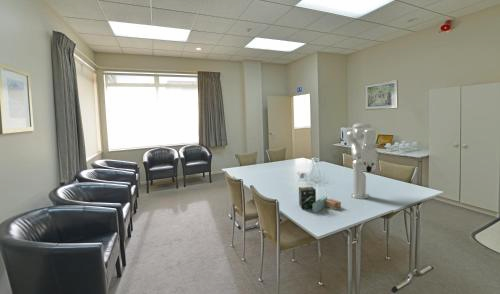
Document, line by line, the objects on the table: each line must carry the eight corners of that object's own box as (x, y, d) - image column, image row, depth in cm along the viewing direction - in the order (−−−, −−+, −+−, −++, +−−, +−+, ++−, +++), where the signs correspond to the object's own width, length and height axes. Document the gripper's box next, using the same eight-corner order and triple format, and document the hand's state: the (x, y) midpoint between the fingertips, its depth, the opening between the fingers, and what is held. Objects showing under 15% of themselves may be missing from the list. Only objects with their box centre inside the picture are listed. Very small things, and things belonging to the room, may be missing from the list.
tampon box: (312, 204, 189) (312, 186, 188) (316, 208, 180) (316, 189, 178) (298, 204, 189) (298, 186, 187) (301, 209, 180) (301, 190, 178)
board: (323, 203, 190) (323, 196, 189) (327, 204, 188) (327, 196, 187) (312, 211, 175) (312, 203, 174) (316, 212, 173) (316, 204, 172)
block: (332, 204, 187) (332, 198, 187) (340, 208, 179) (340, 201, 179) (324, 206, 185) (324, 200, 184) (333, 210, 176) (333, 203, 176)
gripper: (382, 146, 170) (381, 171, 172) (359, 145, 180) (359, 169, 182) (379, 147, 164) (379, 174, 167) (356, 146, 174) (356, 171, 176)
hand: (368, 171), depth 174 cm, fingers closed
